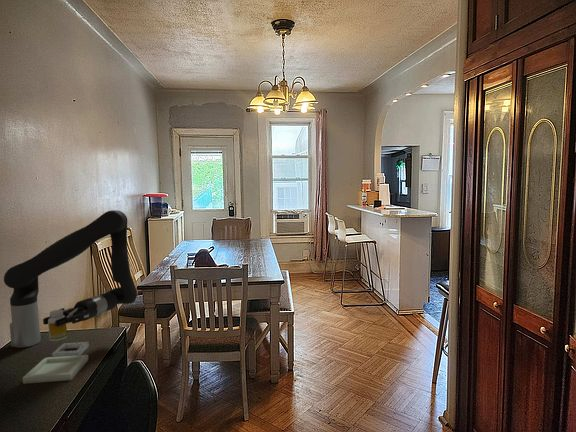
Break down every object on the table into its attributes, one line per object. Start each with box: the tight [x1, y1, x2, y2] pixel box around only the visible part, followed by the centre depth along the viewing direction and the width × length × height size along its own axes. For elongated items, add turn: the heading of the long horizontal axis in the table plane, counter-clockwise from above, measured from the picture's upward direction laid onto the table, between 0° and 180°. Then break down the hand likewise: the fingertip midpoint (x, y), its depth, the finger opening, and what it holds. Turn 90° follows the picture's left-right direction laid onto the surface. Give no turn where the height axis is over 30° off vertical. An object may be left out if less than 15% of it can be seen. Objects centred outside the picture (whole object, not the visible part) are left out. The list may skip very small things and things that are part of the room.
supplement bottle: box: [47, 309, 68, 342], centre depth 138 cm, size 5×5×10 cm
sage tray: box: [22, 354, 89, 384], centre depth 137 cm, size 15×15×2 cm
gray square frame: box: [51, 341, 90, 357], centre depth 153 cm, size 10×10×2 cm
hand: (50, 322), depth 135 cm, fingers closed on supplement bottle, 5 cm apart
